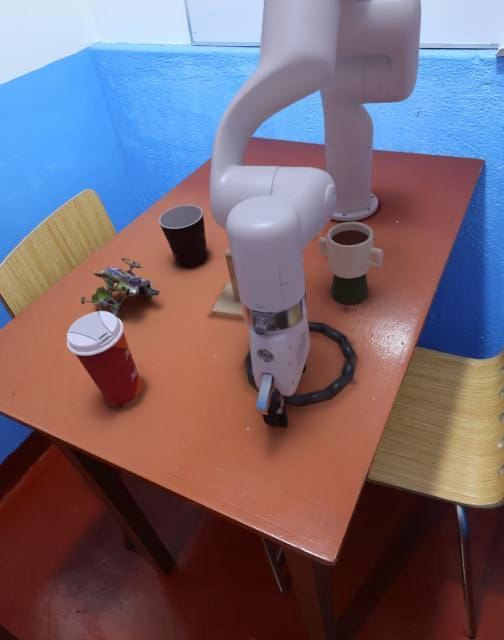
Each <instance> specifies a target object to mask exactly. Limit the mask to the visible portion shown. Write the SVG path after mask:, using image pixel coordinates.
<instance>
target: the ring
mask: <svg viewBox="0 0 504 640" xmlns="http://www.w3.org/2000/svg"><path fill="white" fill-rule="evenodd" d="M308 327H309V332H311V333H319V334H322V335H323V336H325V337H327V338H328V339H330V340H332V341H333V342H335V343H336V344H337V345H338V348H339V350H340V351H341V354H342V355H343V358H344V361H343V364H342V369H341V372H340V375H339V376H338V377H336V378H335V379H334V380H333V381H332V382H331V383H329V384H328V386H326V387H325V388H323V389H319V390H315V391H311V392H306V393H302V394H297V393H294V394H293V395H291V396H284V404H283V405H285V406H286V405H287V406H292V407H297V408H304V407H307V406H312V405H315V404H319V403H323V402H328V401H331V400H333V399H334V398H335V397H336V396H337V395H338V394H340V393H341V392H342V391H343V390H344V389H345V388H347V387H348V386H349V385H350V384H351V383H352V382H353V379H354V376H355V372H356V368H357V363H358V355H357V353H356V351H355V349H354V347H353V346H352V344H351V342H350V339H349V338H348V336H347V335H345V334H344V333H342V332H340V331H339V330H338V329H336V328H333V327H332V326H330V325H329V324H327V323H325V322H316V321H309V320H308ZM243 364H244V368H245V372H246V376H247V380H248V384H249V386H250V387H251V388H253V389H254V390H255V391H256V392H258V393H259V389H258V388H257V386H256V383H255V379H254V374H253V368H252V360H251V351H250V349H249V350H248V352H247V354H246V357H245V359H244V362H243ZM270 401H271V402H276V403H277V401H278V394H277V393H271V398H270Z"/></svg>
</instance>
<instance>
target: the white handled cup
mask: <svg viewBox="0 0 504 640" xmlns="http://www.w3.org/2000/svg"><path fill="white" fill-rule="evenodd" d="M325 244H326V246H325ZM325 247H326V248H325ZM318 252H319V254H320V255H323V256H326V257H327V265H328V269H329V271H330V272H331V273H332V274H333V276H332V282H331V289H330V290H331V291H330V295H331V298H332V300H333V301H334V302H336V303H337V304H340V305H343V306H356V305H359V304H362V303H363V302H365V300H367V299H368V296H369V284H368V279H367V278H368V277H367V272H368V271H369V270H370V269H371V267H375V268H382V266H383V263H384V261H383V260H384V250H383V249H381V248H377V247H374V232H373V230H372V228H371V227H370V226H368V225H367V224H365V223H362V222H360V221H359V222H358V221H345V222H340V223H339V224H335V225H334V226H332V227H330V229H329V230H328V231H327V234H326V236H320V237H318ZM373 255H375V256H376V259H373Z"/></svg>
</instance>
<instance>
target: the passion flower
mask: <svg viewBox="0 0 504 640" xmlns="http://www.w3.org/2000/svg"><path fill="white" fill-rule="evenodd" d="M121 261H122V262H123V263H126V264H128V265H129V269H128V270H126V271H124V270H123V269H122V268H118V267H115V266H106V268H104V270H101V271H100V273H99V272H96V270H92V273H93V275H94V276H96V277H97V278H100V279H102V280H103V281H104V282H105V285H106V287H104V286H103V285H101V286H100V287H97V288H96V289H95V293H93V294H92V295H91V300H88V299H87V300H86V296H81V297H80V303H81V304H82V305H85V304H86V303H91V304H93V306H97V305H99V304H100V310H99V311H105V308H106V307H107V306H109V308H110V310H111V313H112V314H113V315H115V316H116V317H117V314H118V313H119V312H120V310H121V309H122V306H121V305H122V304H123V303H124V300H125V299H126V298H127V297H128V296H131V297H134V296H136V295H139V296H141V297H142V298H146V299H153V296H159V295H160V290H157V289H154V288H153V283H152V282H150V280H149V279H144V278H142V277H139V276H138V275H136V274H135V273H134V272H133V269H141V268H144V266H142V265H141V264H140V263H139V262H136V261H135V260H131V259H128V258H125V257H121ZM115 284H116V285H115ZM114 292H119V295H118V298H117V299H115V298H114V296H113V293H114ZM123 292H124V293H125V294H124V296H123V298H122V299H121V295H122V293H123ZM110 301H111V302H113V303H114V304H111V303H109V302H110Z"/></svg>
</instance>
